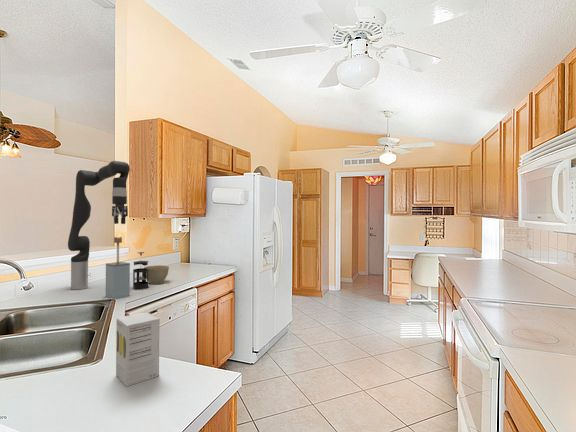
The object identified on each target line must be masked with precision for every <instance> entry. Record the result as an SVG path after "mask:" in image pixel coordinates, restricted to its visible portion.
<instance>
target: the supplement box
mask: <svg viewBox="0 0 576 432" xmlns="http://www.w3.org/2000/svg"><path fill="white" fill-rule="evenodd" d="M160 321H161V320H160V318H159V317H157V316H155V315H153V314H152V313H150V312H149V311H146V312H141V313H135V314H134V313H133V314H129V315H124V316H120V317H117V318H116V332H115V333H116V335H115V336H116V342H115V343H116V346H115V348H116V349H115V357H116V358H115V375H116V376H117V378H118V379H119V380H120V381H121V383H123V384H124V385H125V387H130V386H132V385H136V384H138V383H141V382H144V381H147V380H150V379H152V378H156V377H159V375H160V323H161V322H160Z"/></svg>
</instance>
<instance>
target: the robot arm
mask: <svg viewBox="0 0 576 432" xmlns="http://www.w3.org/2000/svg"><path fill="white" fill-rule="evenodd" d="M130 170H131V168H130V165H129V164H128V162H125V161H118V160H111V161H110V162H109V163H108V164H106V165H105V166H101V167H100V168H99V170H98V171H92V170H85V169H80V170H78V171H77V172H76V177H75V195H74V203H73V209H72V220H71V228H70V231H69V236H68V241H67V249H68V250H69V251H71V252H78V253H77V254H76V255H73V256H71V258H70V290H73V291H75V290H85V289H88V288H89V257H90V243H91V241H90V239H89V237H88V236H86V235H79V234H80V231H81V230H82V228H83V227H84V225H85V224H86V223H87V222H88V221H89V219H90V218H91V210H92V206H91V202H90V201H89V199H88V198H87V195H86V189H85V187H86V186H87V187H89V186H90V187H92V186H93V187H94V186H97V185H98V184H99V183H101V182H103V181H104V180H106V179H109V178H113V177H114V178H113V179H112V192H111V193H112V194H111V196H112V197H111V199H112V200H111V201H112V202H111V203H112V206H111V216H112V217H113V224H114V225H118V224H119V216H120V224H121V225H125V224H126V218H127V217H128V214H129V213H128V212H129V211H128V209H129V207H128V205H127V204H128V191H127V190H128V189H127V182H128V177H129V173H130ZM118 174H119V176H118V177H115V176H116V175H118Z"/></svg>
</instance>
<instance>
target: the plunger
mask: <svg viewBox="0 0 576 432" xmlns="http://www.w3.org/2000/svg"><path fill="white" fill-rule="evenodd" d="M113 242H114V243H115V244H116V262H117V264H119V262H120V244H121V243H123V237H122V236H116V237H115V236H114V237H113ZM114 243H113V244H114Z"/></svg>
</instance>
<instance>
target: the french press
mask: <svg viewBox="0 0 576 432" xmlns="http://www.w3.org/2000/svg"><path fill="white" fill-rule="evenodd" d="M137 254H139V255H140V256H142V255H143V254H145V252H144V251H143V252H142V251H139V252H137ZM132 263H133V266H137V265H141V266H144V267H147V266H148V264H149V260H137V261H133V262H132ZM144 267H140V268H133V271H132V272H133V273H132V274H133V275H132V280H133V281H132V282H133V283H132V290H136V291H137V290H146V289H149V288H150V286H149V281H148V269H147V268H144ZM146 272H147V277H146Z"/></svg>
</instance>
